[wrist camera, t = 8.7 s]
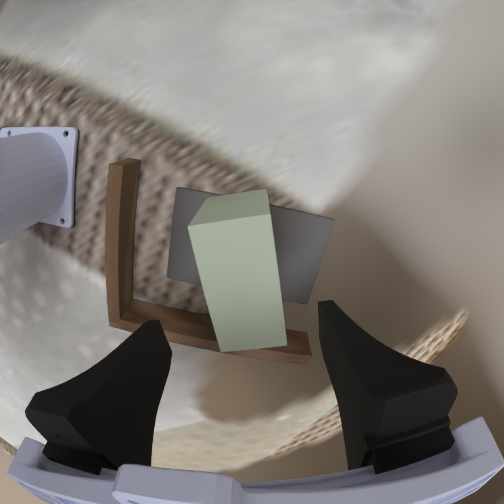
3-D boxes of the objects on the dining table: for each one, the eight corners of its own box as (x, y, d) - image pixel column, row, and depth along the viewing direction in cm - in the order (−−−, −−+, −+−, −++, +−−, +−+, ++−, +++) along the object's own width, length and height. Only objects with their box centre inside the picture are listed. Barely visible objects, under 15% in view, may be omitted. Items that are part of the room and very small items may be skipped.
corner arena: (122, 305, 24) (109, 325, 21) (128, 158, 19) (109, 164, 16) (303, 340, 25) (307, 364, 22) (351, 202, 20) (365, 214, 17)
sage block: (228, 299, 23) (220, 352, 17) (207, 197, 20) (187, 226, 14) (280, 293, 22) (287, 345, 17) (266, 188, 19) (270, 214, 14)
